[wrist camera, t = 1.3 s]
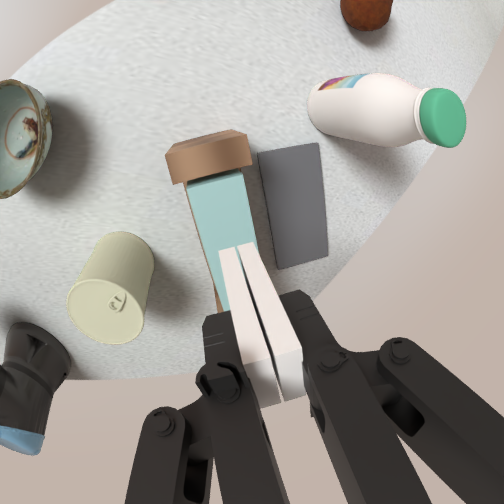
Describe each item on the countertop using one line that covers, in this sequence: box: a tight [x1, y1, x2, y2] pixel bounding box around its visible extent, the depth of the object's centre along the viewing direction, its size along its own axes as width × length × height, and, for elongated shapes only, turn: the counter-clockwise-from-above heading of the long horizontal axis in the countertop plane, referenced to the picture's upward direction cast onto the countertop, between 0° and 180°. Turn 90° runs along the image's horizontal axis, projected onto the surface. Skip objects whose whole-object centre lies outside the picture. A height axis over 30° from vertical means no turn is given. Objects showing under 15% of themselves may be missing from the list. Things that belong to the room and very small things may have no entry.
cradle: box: [165, 130, 253, 313], centre depth 31 cm, size 7×22×10 cm, turn 11°
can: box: [66, 232, 154, 345], centre depth 30 cm, size 9×9×12 cm
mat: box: [257, 143, 328, 270], centre depth 37 cm, size 8×17×1 cm, turn 11°
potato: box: [340, 0, 393, 31], centre depth 21 cm, size 7×9×6 cm
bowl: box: [0, 79, 53, 199], centre depth 20 cm, size 14×13×8 cm
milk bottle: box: [307, 73, 466, 148], centre depth 22 cm, size 8×8×20 cm
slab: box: [186, 168, 259, 311], centre depth 28 cm, size 5×15×4 cm, turn 11°
